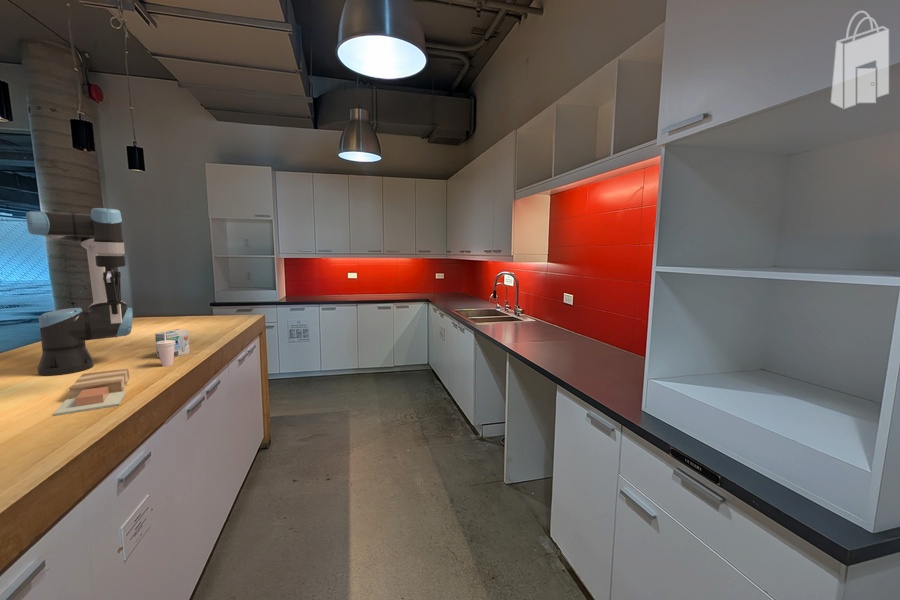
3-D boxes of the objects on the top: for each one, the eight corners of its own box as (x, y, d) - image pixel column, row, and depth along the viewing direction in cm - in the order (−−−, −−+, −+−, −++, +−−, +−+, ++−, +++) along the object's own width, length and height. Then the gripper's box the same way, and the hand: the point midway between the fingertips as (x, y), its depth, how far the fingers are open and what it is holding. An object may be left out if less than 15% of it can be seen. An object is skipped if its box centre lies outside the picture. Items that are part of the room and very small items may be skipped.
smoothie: (155, 368, 148) (153, 333, 147) (159, 363, 154) (156, 330, 152) (175, 366, 151) (173, 332, 150) (178, 361, 157) (176, 329, 155)
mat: (66, 401, 115) (66, 399, 115) (125, 392, 123) (125, 390, 123) (53, 415, 105) (53, 413, 105) (119, 405, 113) (119, 403, 113)
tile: (83, 397, 117) (82, 389, 117) (108, 393, 120) (108, 386, 120) (76, 406, 110) (75, 398, 110) (103, 402, 114) (102, 394, 113)
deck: (84, 384, 129) (82, 373, 129) (129, 379, 136) (128, 368, 135) (70, 400, 116) (69, 388, 115) (121, 393, 122) (120, 381, 122)
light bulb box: (168, 359, 161) (166, 334, 159) (156, 357, 162) (154, 333, 161) (190, 352, 171) (189, 329, 170) (178, 351, 173) (177, 328, 171)
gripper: (100, 254, 130) (106, 320, 134) (90, 255, 120) (97, 327, 123) (128, 254, 134) (133, 318, 138) (120, 255, 124) (127, 325, 127)
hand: (116, 322), depth 130 cm, fingers closed
